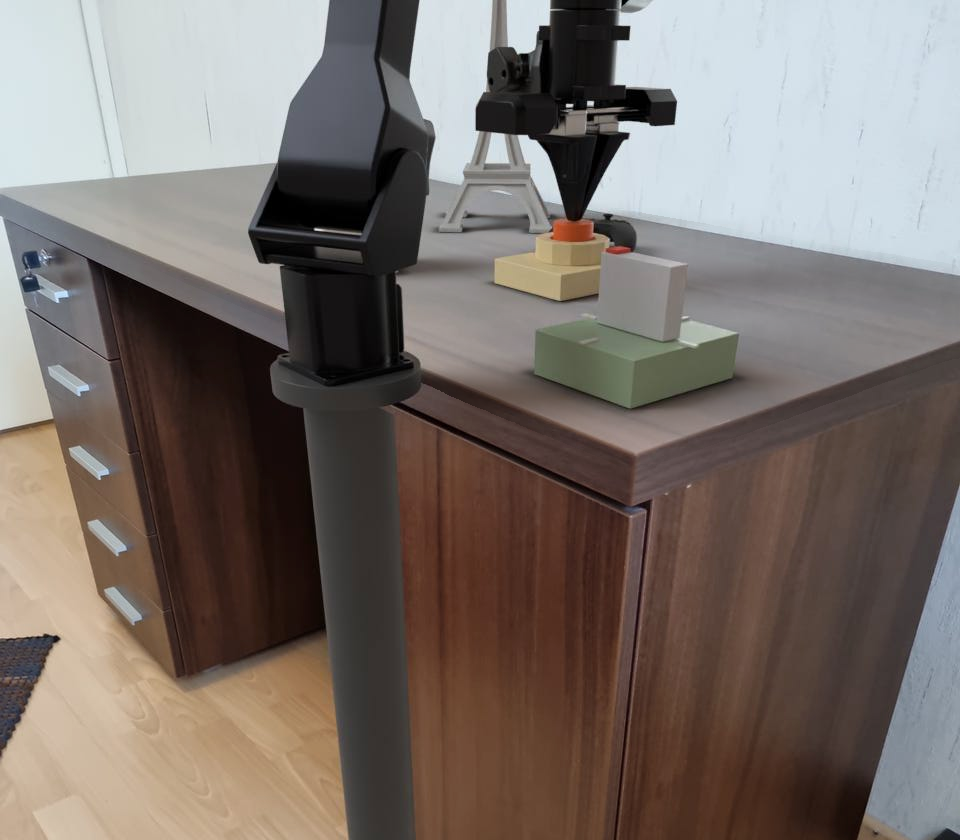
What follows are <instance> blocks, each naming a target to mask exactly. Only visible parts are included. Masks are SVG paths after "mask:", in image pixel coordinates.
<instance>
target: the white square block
mask: <svg viewBox="0 0 960 840" xmlns="http://www.w3.org/2000/svg"><path fill="white" fill-rule="evenodd" d="M630 250H631V248H627V247H622V246H617V247H615V246H612V247H609V248H606V252H602V257H601V271H600V285H599V294H598V302H597V315H596V316H597V323H600V324H603V325H606V326H610V327H613V328H617V329H620V330H623V331H627V332H630V333H634V334H637V335H641V336H644V337H647V338H651V339H654V340H658V341H661V342H665V341H669V340H673V339H677V338H679V337H680V329H681V320H682V317H683V313H684V312H683V311H684V302H685V294H686V287H687V278H688V270H689V264H688V263H684V262H679V261H675V260H670V259H667V258H662V257H657V256H651V255H647V254H642V253H638V252H634V251H633V252H630Z"/></svg>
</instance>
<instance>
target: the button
mask: <svg viewBox="0 0 960 840" xmlns="http://www.w3.org/2000/svg"><path fill="white" fill-rule="evenodd" d="M593 225H594V223H593V221H591V220H586V219H581V220H580V221H569V220H567V218H560V219H559V218H558V219H555V220H553V225H552V228H553V240H557V241H564V242H586V241H592V240H593Z"/></svg>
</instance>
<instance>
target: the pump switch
mask: <svg viewBox="0 0 960 840" xmlns="http://www.w3.org/2000/svg"><path fill="white" fill-rule="evenodd" d="M610 243H611V242H610V239H609V238H608V237H606V236H605V235H601V234H596V233H593V240H592V241H586V242H564V241H557V240H553V232H551V233H540V234H539V235H537V236H535V251H533V252H527V253H521V254H514V255H508V256H502V257H495V258H494V284H496V285H500V286H503V287H507V288H511V289H514V290H517V291H522V292H525V293H528V294H532V295H536V296H539V297H543V298H546V299H550V300H554V301H557V302H563V301H568V300H573V299H578V298H583V297H588V296H594V295H599V285H600V271H601V257H602V252H606V248H610Z"/></svg>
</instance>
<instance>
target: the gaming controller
mask: <svg viewBox="0 0 960 840" xmlns="http://www.w3.org/2000/svg"><path fill="white" fill-rule="evenodd" d="M602 217H604V219H603V218H601V219H598V218H597V219H596V218H593V217H592V218H584V217H582V219H586V220H591V221H593V223H594V225H593V233H596V234H601V235H605V236H606V237H608V238H609V239H610V243H613V244H614V247H617V246H622V247H627V248H631V250H630V252H634V251H635V249H636V247H637V240H638V236H637V230H636V229H635V228H634V226H633V224H631V223H630V222H629V221H626V220H625V219H615V218H614V219H611V218H613V217H614V215H613V213H603V214H602ZM551 232H553V227H552V228H551V229H550V230H549V232H548V233H551Z"/></svg>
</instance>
